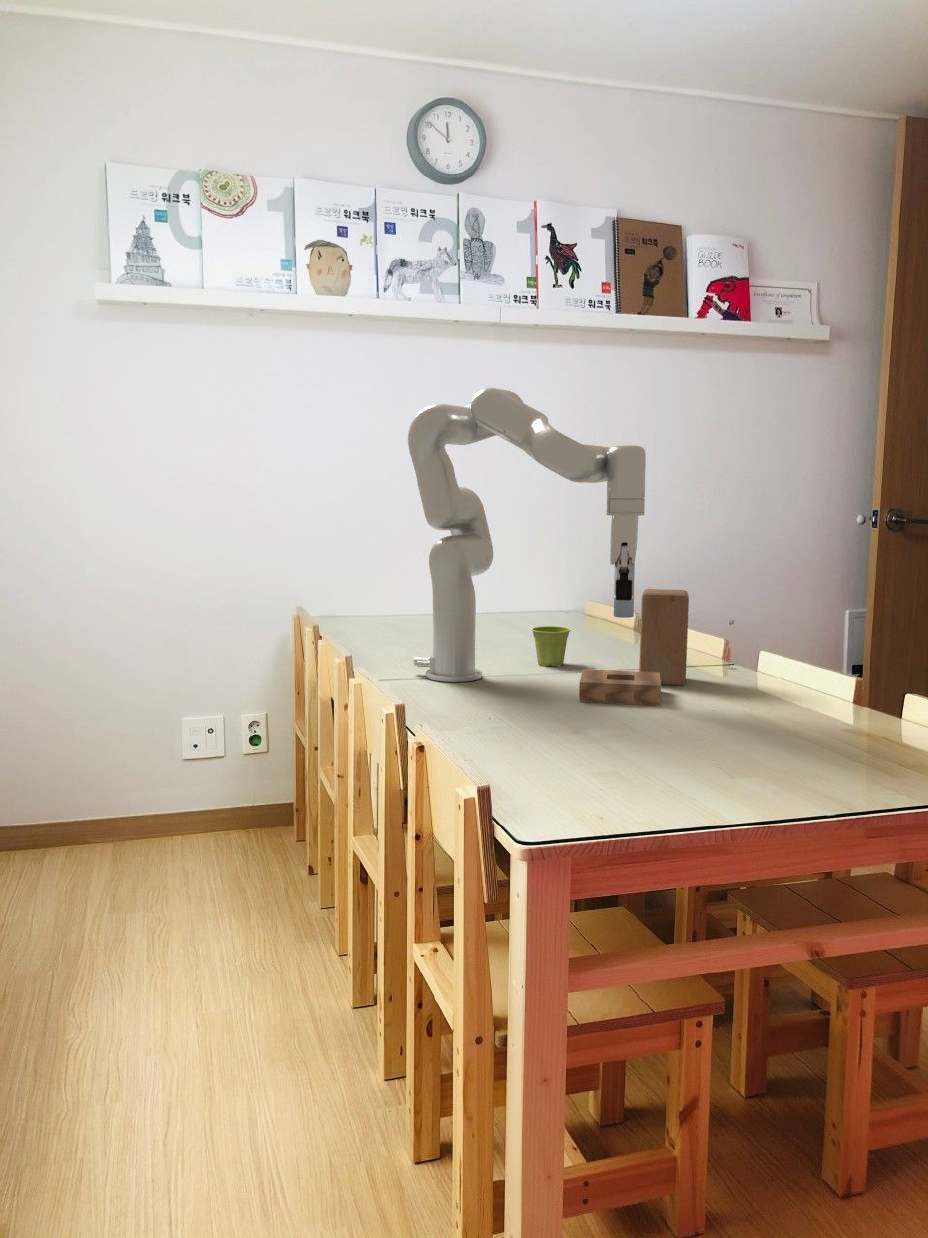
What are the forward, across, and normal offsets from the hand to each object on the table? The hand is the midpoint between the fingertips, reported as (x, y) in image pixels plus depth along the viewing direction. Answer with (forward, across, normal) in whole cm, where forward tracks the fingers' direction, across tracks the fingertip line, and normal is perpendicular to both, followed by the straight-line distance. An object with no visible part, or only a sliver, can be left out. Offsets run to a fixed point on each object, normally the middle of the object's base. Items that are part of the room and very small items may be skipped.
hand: (623, 597), depth 206 cm
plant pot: (+20, -33, -17) cm, 43 cm away
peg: (+4, 0, 0) cm, 4 cm away
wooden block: (+21, -18, +9) cm, 29 cm away
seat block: (+20, 0, 0) cm, 20 cm away
